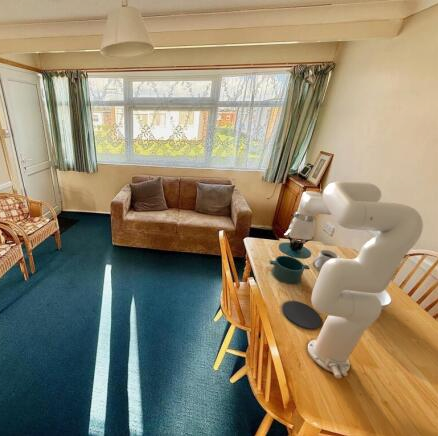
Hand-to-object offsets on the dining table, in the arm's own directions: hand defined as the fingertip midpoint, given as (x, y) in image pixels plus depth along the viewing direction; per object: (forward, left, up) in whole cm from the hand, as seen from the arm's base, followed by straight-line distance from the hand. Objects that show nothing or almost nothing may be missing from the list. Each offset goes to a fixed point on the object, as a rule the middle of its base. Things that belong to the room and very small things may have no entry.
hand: (294, 248), depth 118 cm
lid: (0, 0, -1) cm, 1 cm away
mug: (+12, -22, -18) cm, 31 cm away
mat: (-28, +1, -18) cm, 33 cm away
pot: (0, 0, -18) cm, 18 cm away
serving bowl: (-11, -28, -18) cm, 35 cm away
